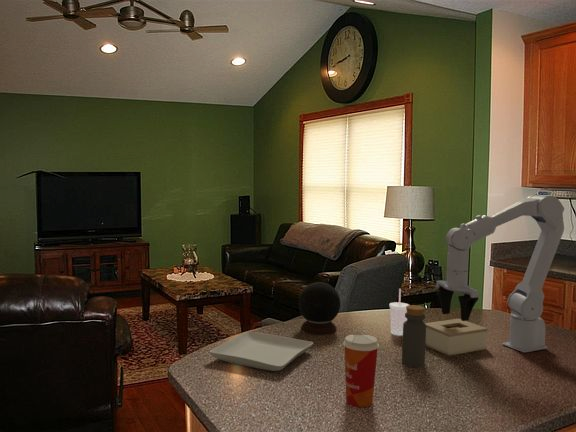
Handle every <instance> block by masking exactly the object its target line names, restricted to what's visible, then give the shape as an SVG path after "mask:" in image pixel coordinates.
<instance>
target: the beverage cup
mask: <svg viewBox="0 0 576 432" xmlns="http://www.w3.org/2000/svg"><path fill="white" fill-rule="evenodd" d="M401 291H402V289H401V288H398V302H397V301H396V302H395V301H394V302H390V303H389V304H388V305H389V310H390V312H389V313H390V314H389V315H390V334H392V335H393V336H394V335H395V336H403V323H404V322H405V321H407V318H405V313H406V312H407V310H406V306H408V305H410V304H409V303H405V302H401V300H402V299H401V298H402V297H401V296H402V294H401V293H402V292H401Z"/></svg>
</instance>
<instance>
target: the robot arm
mask: <svg viewBox="0 0 576 432" xmlns="http://www.w3.org/2000/svg"><path fill="white" fill-rule="evenodd" d="M564 211H565V207H564V205H563V204H562V202H561V201H560V200H559V198H558V197H556V196H553V195H548V196H547V195H540V194H531V195H530V196H528V197H524V198H522V199H520V200H518V201H517V202H514V203H513V204H511V205H509V206H507V207H505V208H503V209H502V210H500V211H498V212H497V213H494V214H493V215H490V216H489V215H486V214H483V215H480V214H478V215H476V216H475V219H473V220H471V221H468V222H466V223H464V222H463V223H461V224H460V227H453V228H450V229H449V230H448V232H447V233H446V236H444V239H445V242H446V244H447V258H446V259H447V261H446V262H447V263H446V280H443V279H442V280H436V283H435V284H436V288H437V289H435V291H434V292H435V294H436V296H437V297H438V301H439V304H440V309H441V312H442V313H441V314H443V315H449V314H450V312H451V306H452V305H451V303H452V298H453V295H454V293H457V294H461V295H458V297H457V298H458V301H459V306H460V319H461V321H468V322H469V320H470V316H471V313H472V311H473V308H474V306H475V305H476V303H477V302H478V301H479V290H478V289H475V288H473V287H470V286H469V285H468V279H469V278H468V274H469V271H468V270H469V250H470V248H471V247H472V245H473V244H474V243H476V242H478V241H480V240H482V239H484V238H486V237H488V236H490V235H493V234H494V233H495V231H496V229H497V227H499V226H502V225H503V224H506V223H508V222H510V221H513V220H516V219H518V218H520V217H524V216H525V217H528V216H529V217H531V218H532V219H533V220H535V221H536V223H537V225H538V227H539V229H540V230H541V231H540V234H539V236H538V239H537V241H536V244H535V247H534V250H533V252H532V255H531V257H530V260H529V262H528V264H527V268H526V270H525V273H524V276H523V279H522V281H521V282H519V283H518V284H516V286H515V288H514V289H513V291H511V293H510V294H509V295H508V297H507V305H508V307H509V308H510V320H509V321H510V322H509V341H505V342H502V343H501V344H502V345H503V346H506V347H508V348H511V349H513V350H516V351H518V352H519V351H520V352H521V353H530V352H536V351H540V350H546V349H547V348H548V346H546V345H545V344H546V343H545V342H546V341H545V340H546V322H545V320H544V319H543V318H542V317H541V315H542V314H543V312H544V304H543V303H544V300H545V294H544V290H543V287H544V284H545V281H546V280H547V279H546V278H547V277H548V276H547V275H548V273H549V271H550V268H551V266H552V263H553V261H554V258H555V255H556V253H557V250H558V248H559V244H560V242H561V240H562V236H563V234H564V231H565V224H564V223H565V222H564V215H563V214H564Z"/></svg>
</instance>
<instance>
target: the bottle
mask: <svg viewBox="0 0 576 432" xmlns="http://www.w3.org/2000/svg"><path fill="white" fill-rule="evenodd" d="M425 309H426V308H425V307H424V306H422V305H415V304H412V305H411V304H409V305H408V306H406V310H407V312H406V313H405V318H407V321H405V322H404V323H403V335H402V343H401V345H402V346H401V363H402V365H404V366H406V367H409V368H422V367H424V366H425V365H426V364H425V363H426V347H427V346H426V324H425V321H423V320H425V319H426V314H425Z"/></svg>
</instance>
